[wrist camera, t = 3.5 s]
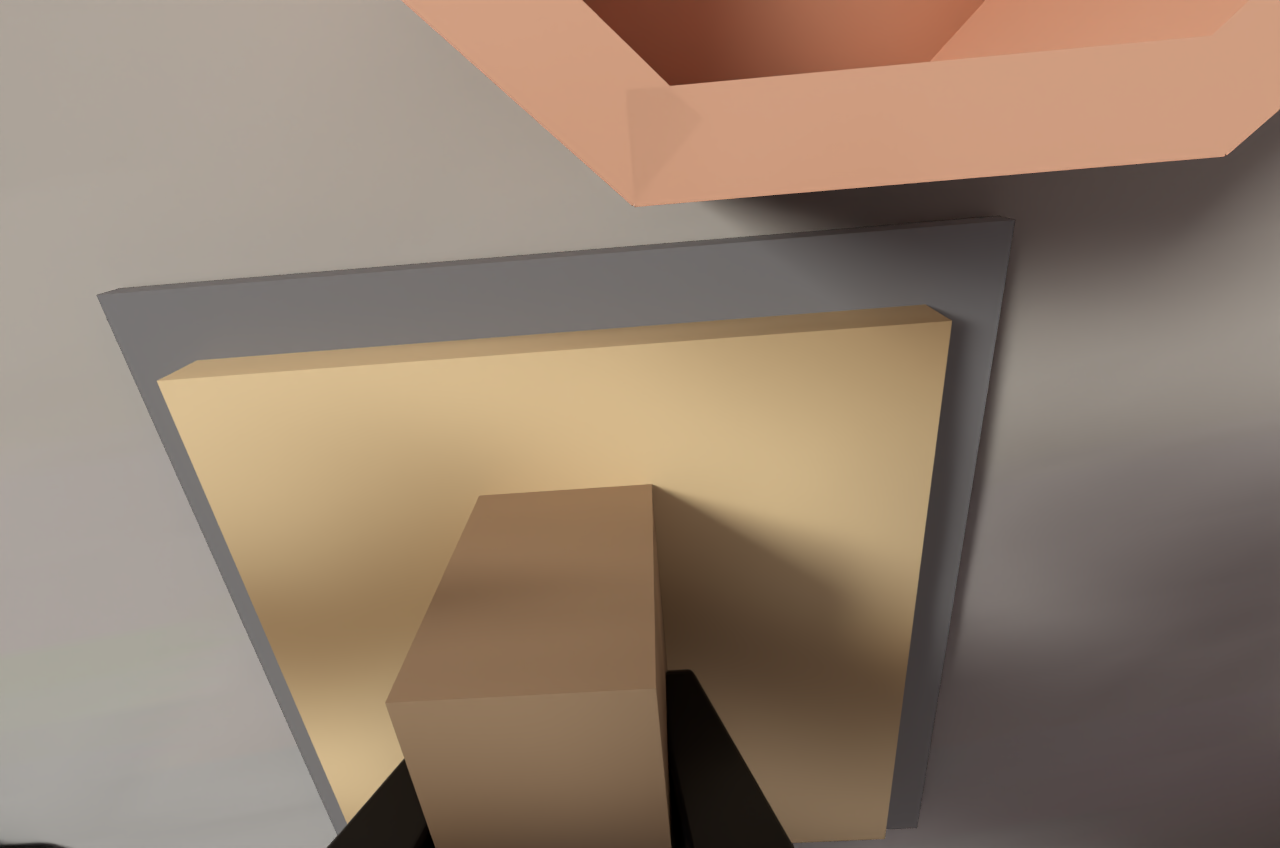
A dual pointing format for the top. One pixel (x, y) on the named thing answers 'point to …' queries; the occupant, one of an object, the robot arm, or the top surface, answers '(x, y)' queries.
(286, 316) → the mat
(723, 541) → the lid
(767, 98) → the bowl
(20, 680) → the top surface
